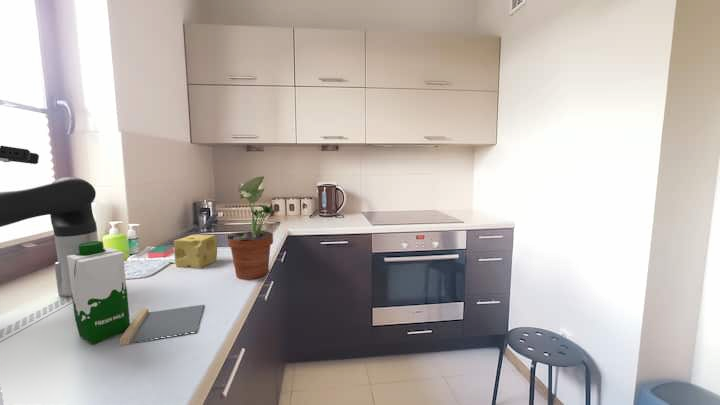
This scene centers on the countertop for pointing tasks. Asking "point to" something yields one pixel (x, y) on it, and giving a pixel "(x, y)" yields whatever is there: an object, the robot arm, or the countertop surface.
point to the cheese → (195, 251)
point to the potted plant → (252, 238)
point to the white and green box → (99, 291)
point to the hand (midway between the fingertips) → (33, 157)
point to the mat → (162, 324)
